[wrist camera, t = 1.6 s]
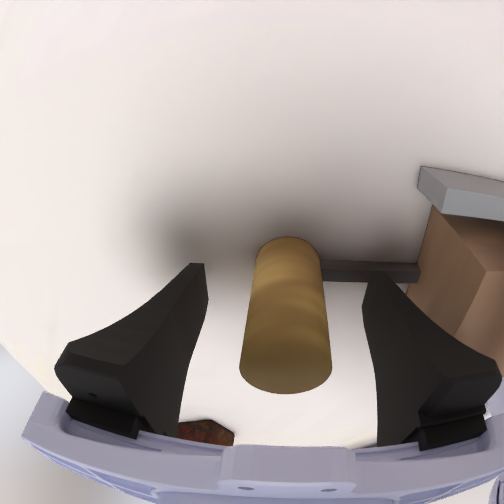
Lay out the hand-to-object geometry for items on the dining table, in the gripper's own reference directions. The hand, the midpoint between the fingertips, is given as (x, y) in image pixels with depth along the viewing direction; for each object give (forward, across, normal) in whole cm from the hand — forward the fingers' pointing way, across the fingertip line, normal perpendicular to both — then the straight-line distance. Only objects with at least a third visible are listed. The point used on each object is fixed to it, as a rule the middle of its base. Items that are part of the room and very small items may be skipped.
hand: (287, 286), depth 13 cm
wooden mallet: (+2, -5, 0) cm, 6 cm away
